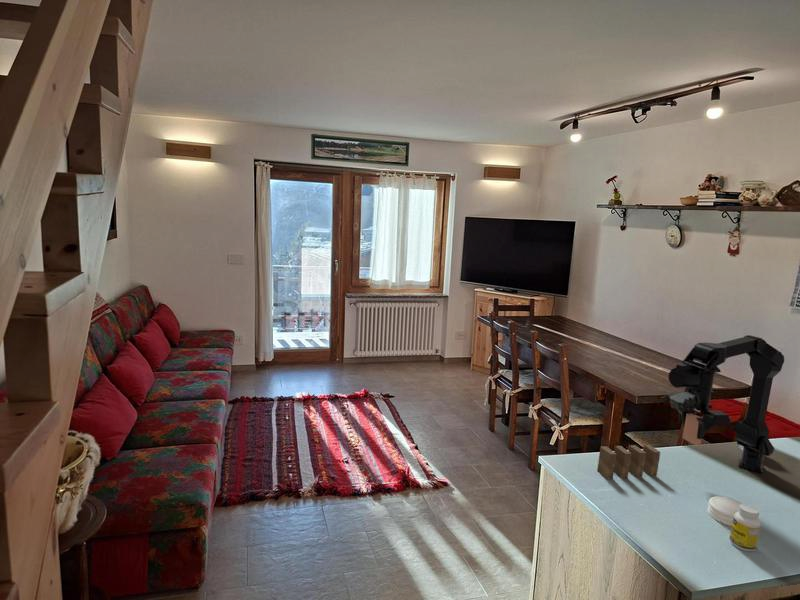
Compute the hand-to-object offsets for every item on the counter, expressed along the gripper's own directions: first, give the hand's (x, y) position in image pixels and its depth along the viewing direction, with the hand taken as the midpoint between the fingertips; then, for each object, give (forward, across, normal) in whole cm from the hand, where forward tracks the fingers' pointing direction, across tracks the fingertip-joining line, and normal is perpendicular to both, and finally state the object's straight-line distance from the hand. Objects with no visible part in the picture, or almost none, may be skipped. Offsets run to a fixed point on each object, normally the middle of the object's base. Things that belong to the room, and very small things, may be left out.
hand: (692, 435), depth 154 cm
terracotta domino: (+2, 0, 0) cm, 2 cm away
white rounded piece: (+14, +21, -4) cm, 26 cm away
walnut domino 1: (+14, -4, -25) cm, 29 cm away
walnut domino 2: (+14, -4, -20) cm, 25 cm away
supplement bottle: (+14, +32, -11) cm, 36 cm away
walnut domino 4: (+14, -4, -10) cm, 17 cm away
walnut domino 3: (+14, -4, -15) cm, 21 cm away
